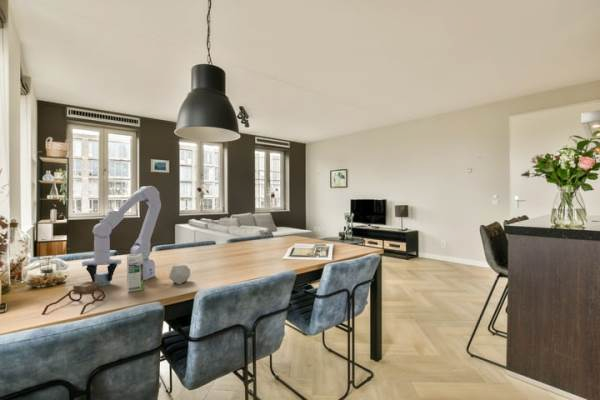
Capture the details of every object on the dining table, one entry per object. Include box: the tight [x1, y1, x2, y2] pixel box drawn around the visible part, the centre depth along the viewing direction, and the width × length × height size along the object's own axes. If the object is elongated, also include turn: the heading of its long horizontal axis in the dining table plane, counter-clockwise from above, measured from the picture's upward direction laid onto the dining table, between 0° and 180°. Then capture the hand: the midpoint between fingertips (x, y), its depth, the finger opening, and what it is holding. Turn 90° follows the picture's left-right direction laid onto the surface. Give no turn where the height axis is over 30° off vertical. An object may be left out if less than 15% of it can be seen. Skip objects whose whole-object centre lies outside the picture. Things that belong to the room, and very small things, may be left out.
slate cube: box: [94, 271, 111, 287], centre depth 128 cm, size 4×4×5 cm
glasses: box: [41, 288, 106, 316], centre depth 102 cm, size 13×13×5 cm
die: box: [168, 263, 191, 285], centre depth 131 cm, size 8×9×10 cm
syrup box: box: [126, 254, 144, 293], centre depth 122 cm, size 6×6×14 cm
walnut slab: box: [72, 280, 100, 294], centre depth 120 cm, size 6×6×3 cm
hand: (102, 281), depth 128 cm, fingers open, 5 cm apart
